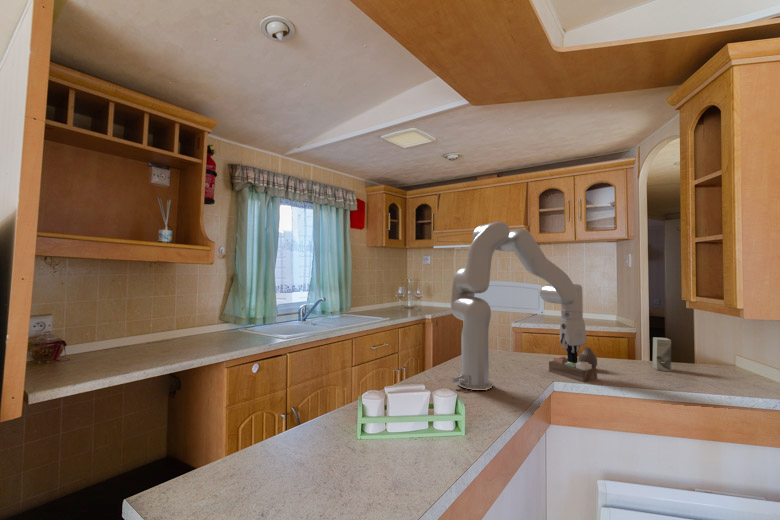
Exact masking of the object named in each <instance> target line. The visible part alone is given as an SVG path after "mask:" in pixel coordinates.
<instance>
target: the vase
mask: <svg viewBox="0 0 780 520" xmlns="http://www.w3.org/2000/svg"><path fill="white" fill-rule="evenodd" d="M577 358H578V362H577V363H579V362H580V361H583V362H588V363H589V364H591V365H592V367H593V368H597V366H598V358H597V356H596V354H595V353H594V352H593V350H592V348H590V347H584V348H583V349H582V351H581V352H580V353H579V355H578V356H577Z"/></svg>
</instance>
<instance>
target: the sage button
mask: <svg viewBox="0 0 780 520" xmlns="http://www.w3.org/2000/svg"><path fill="white" fill-rule="evenodd" d="M565 365H568V366H571V367H576V363H572V362H568V361H567V362H566V363H565Z"/></svg>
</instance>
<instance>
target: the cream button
mask: <svg viewBox="0 0 780 520" xmlns="http://www.w3.org/2000/svg"><path fill="white" fill-rule="evenodd" d="M576 368H578V369H582V370H590V369H592V365H591V364H589V363H588V362H583V361H580V362H577V363H576Z"/></svg>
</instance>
